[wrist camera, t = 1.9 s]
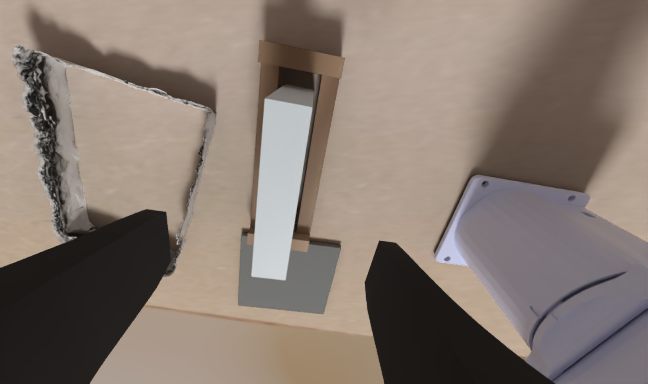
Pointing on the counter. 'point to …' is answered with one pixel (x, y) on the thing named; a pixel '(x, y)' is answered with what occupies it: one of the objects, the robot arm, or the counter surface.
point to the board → (280, 177)
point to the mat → (290, 280)
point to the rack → (331, 72)
